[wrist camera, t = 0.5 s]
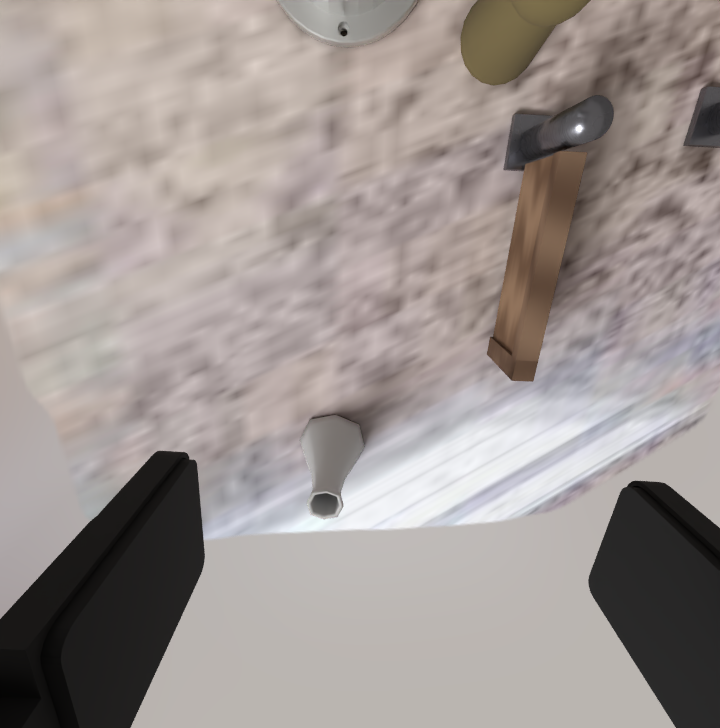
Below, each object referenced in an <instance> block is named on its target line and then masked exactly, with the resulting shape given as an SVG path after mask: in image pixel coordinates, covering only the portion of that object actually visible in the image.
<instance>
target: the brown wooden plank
mask: <svg viewBox="0 0 720 728" xmlns="http://www.w3.org/2000/svg"><path fill="white" fill-rule="evenodd" d="M586 156H587V152H570V151H559V152H556V153H554V154H553V155H552V156H549V157H546V158H543V159H540V160H537V161H534V162H531V163H528V164H525V169H524V174H523V180H522V185H521V191H520V196H519V201H518V207H517V212H516V217H515V223H514V228H513V233H512V239H511V244H510V250H509V255H508V260H507V266H506V271H505V276H504V282H503V287H502V292H501V298H500V303H499V309H498V314H497V319H496V325H495V330H494V335H493V337H490V340H489V346H488V351H487V355H488V356H489V357H490V358H491V359H492V360H493V361H494V362H495V363H496V364H497V365H498V366H499V368H500V369H501V370H502V371H503V372H504V373H505V374H506V375H507V376H508V377H509V378H510V379H511V380H512V381H533V380H534V376H535V372H536V368H537V363H538V359H539V355H540V351H541V346H542V342H543V338H544V334H545V330H546V325H547V321H548V317H549V313H550V308H551V304H552V300H553V296H554V292H555V287H556V283H557V279H558V275H559V270H560V266H561V262H562V258H563V253H564V249H565V245H566V241H567V237H568V232H569V228H570V224H571V220H572V215H573V211H574V207H575V203H576V199H577V194H578V190H579V186H580V182H581V177H582V173H583V169H584V165H585V161H586Z"/></svg>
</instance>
